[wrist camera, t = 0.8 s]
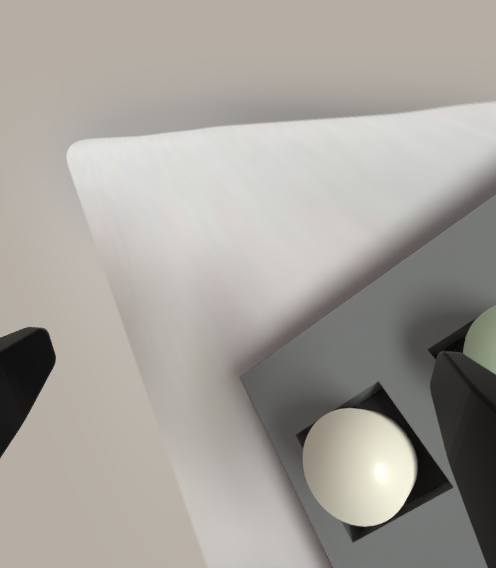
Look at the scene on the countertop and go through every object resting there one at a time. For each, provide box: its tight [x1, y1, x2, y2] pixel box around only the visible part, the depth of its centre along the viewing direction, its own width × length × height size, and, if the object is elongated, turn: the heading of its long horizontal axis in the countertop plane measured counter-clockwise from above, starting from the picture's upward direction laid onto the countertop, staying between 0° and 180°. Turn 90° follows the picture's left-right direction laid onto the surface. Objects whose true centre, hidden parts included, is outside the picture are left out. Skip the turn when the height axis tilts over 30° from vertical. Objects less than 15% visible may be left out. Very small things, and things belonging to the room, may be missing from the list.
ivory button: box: [303, 408, 418, 526], centre depth 17 cm, size 4×4×4 cm
